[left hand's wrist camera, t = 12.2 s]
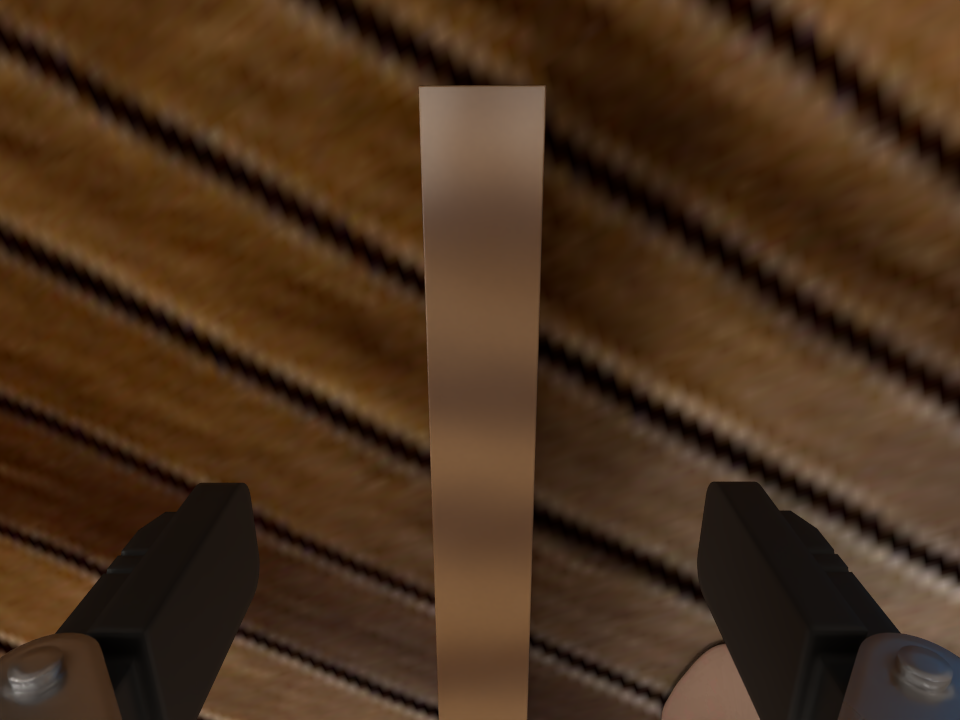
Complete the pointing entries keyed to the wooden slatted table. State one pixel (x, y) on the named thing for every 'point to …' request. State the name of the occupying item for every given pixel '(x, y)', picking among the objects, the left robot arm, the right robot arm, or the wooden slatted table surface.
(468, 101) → the post
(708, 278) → the wooden slatted table surface
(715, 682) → the anatomical model
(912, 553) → the wooden slatted table surface
